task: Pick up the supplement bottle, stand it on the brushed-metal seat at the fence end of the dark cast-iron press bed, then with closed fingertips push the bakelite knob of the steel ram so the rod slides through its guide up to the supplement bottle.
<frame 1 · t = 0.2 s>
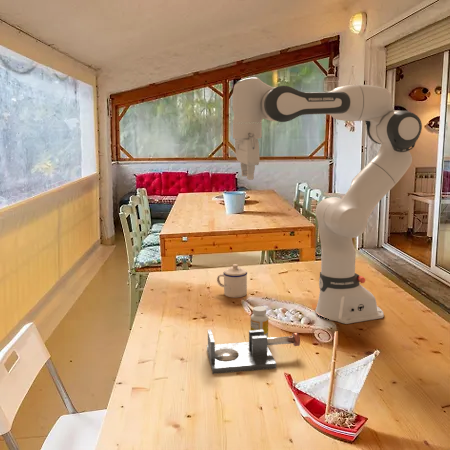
hand: (247, 177, 154), 47 cm above the table, fingers open, 8 cm apart
ram: (275, 341, 137), point 4 cm above the table, slide at 0.0 cm
supplement bottle: (259, 339, 149), on the table
press bed: (240, 358, 137), on the table
teacup with lid: (231, 294, 189), on the table
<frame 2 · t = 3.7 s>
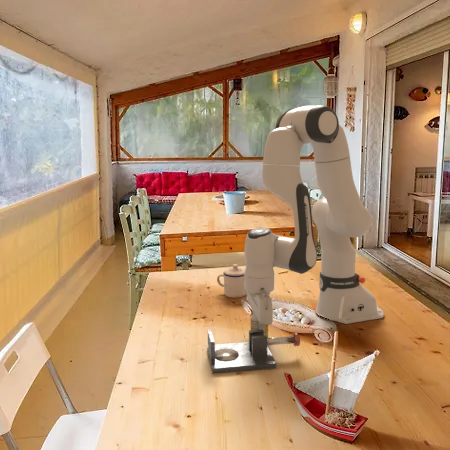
hand: (259, 327, 149), 4 cm above the table, fingers closed on supplement bottle, 5 cm apart
supplement bottle: (259, 339, 149), on the table, touching gripper
everything else where it was.
when the fingers open (6 cm above the table, at t = 9.1 s): supplement bottle stays where it is, resting on press bed.
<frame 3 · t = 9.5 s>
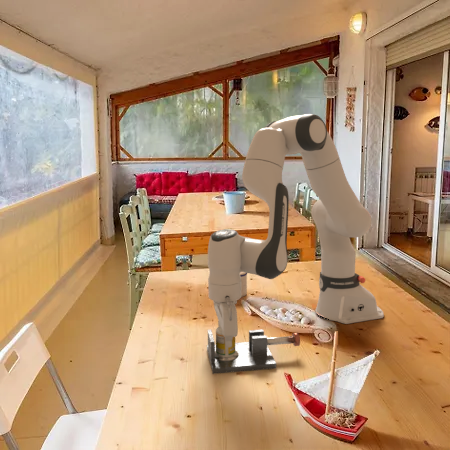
hand: (225, 338, 135), 6 cm above the table, fingers open, 8 cm apart
supplement bottle: (225, 354, 136), point 2 cm above the table, touching press bed
everything else where it was.
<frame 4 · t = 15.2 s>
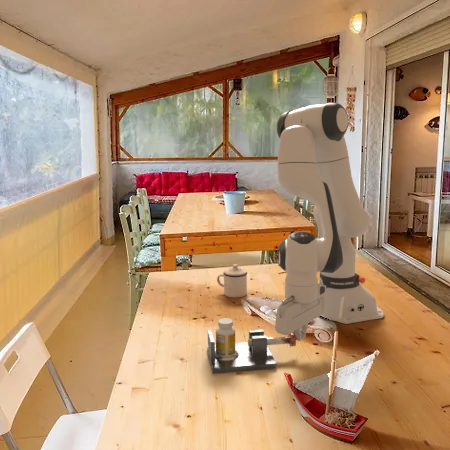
hand: (300, 338, 138), 5 cm above the table, fingers closed
ram: (271, 341, 137), point 5 cm above the table, slide at 1.2 cm, touching gripper
everything else where it was.
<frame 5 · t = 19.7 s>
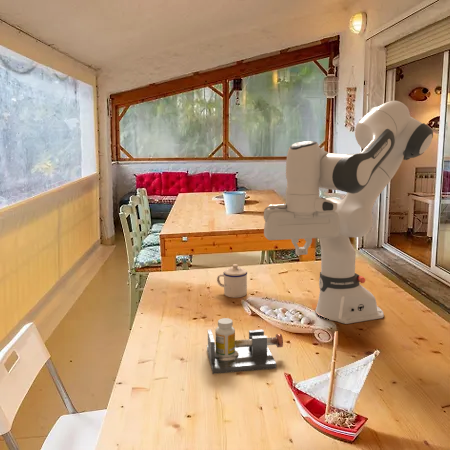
hand: (301, 254, 133), 29 cm above the table, fingers closed
ram: (258, 342, 136), point 4 cm above the table, slide at 4.8 cm
everything else where it was.
at the end: supplement bottle 0.5 cm from the target spot on the press bed, point 1.5 cm above the press bed's base; supplement bottle tilted 0°; ram slide at 4.8 cm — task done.
